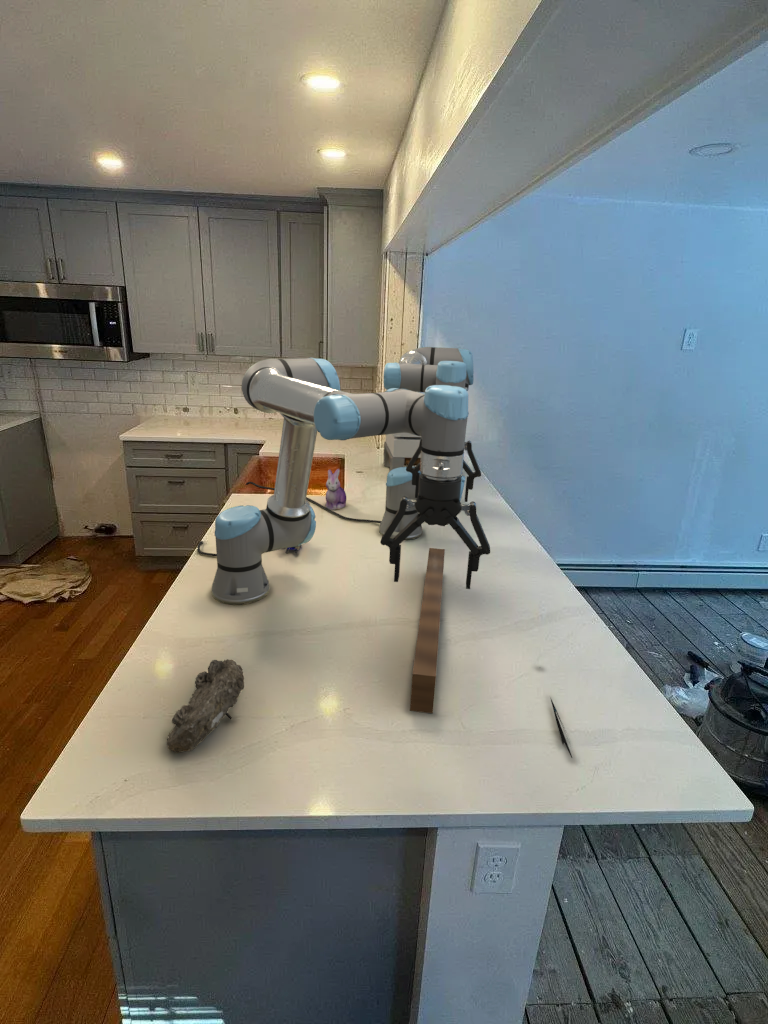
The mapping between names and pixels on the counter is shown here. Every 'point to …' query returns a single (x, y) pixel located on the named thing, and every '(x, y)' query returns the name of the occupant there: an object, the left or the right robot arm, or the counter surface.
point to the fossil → (206, 705)
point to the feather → (560, 728)
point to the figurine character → (293, 548)
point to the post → (428, 636)
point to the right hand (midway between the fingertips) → (441, 498)
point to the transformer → (400, 449)
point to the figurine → (334, 492)
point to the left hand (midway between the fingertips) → (432, 582)
